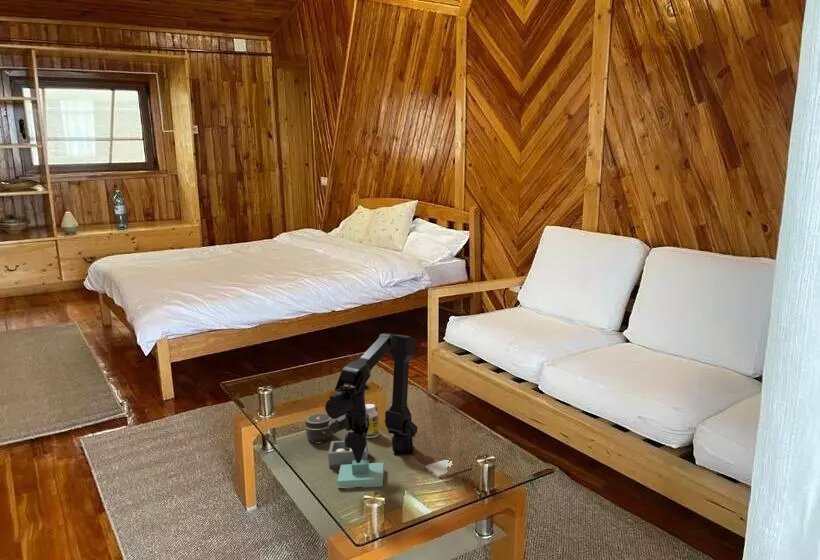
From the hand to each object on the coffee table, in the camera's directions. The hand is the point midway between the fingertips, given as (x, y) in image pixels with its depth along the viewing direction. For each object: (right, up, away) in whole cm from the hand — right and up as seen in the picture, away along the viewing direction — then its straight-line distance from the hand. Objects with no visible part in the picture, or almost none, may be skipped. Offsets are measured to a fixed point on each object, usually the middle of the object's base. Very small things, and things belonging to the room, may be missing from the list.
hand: (359, 455), depth 187 cm
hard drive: (+28, -6, +6) cm, 29 cm away
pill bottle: (+1, -2, +33) cm, 33 cm away
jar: (-17, -3, +33) cm, 37 cm away
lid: (0, -8, +2) cm, 8 cm away
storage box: (-5, -6, +14) cm, 16 cm away
